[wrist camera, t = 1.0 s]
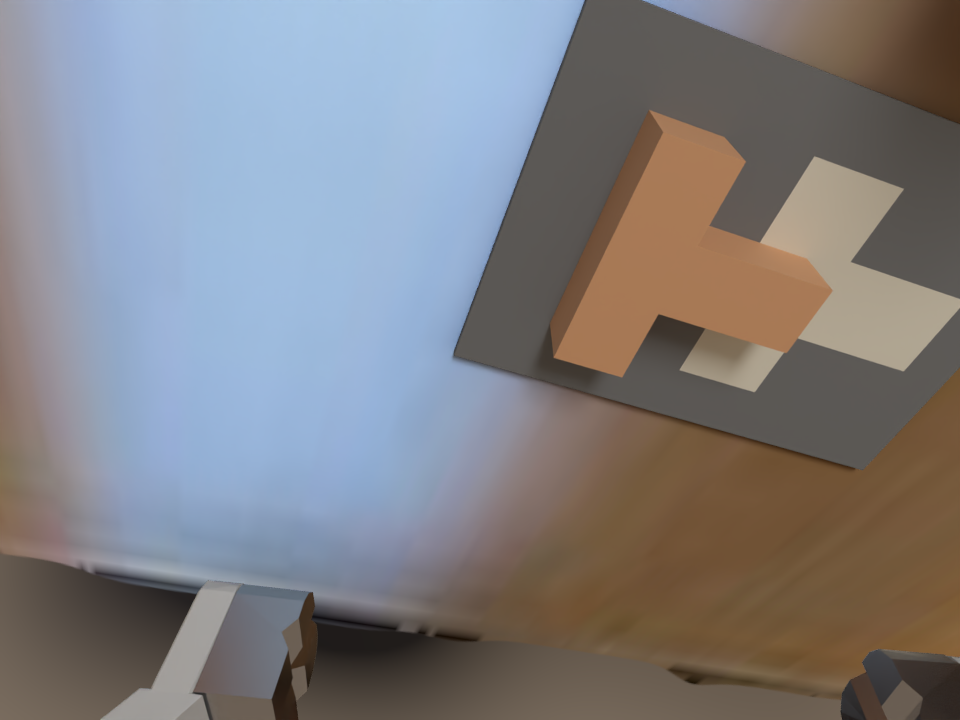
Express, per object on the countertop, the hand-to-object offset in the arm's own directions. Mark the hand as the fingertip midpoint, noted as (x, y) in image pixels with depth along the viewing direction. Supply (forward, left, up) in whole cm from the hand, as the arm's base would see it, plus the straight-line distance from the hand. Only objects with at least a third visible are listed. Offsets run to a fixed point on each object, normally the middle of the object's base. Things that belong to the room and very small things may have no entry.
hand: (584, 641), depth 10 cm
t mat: (+13, -3, -23) cm, 27 cm away
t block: (+9, -3, -23) cm, 25 cm away
